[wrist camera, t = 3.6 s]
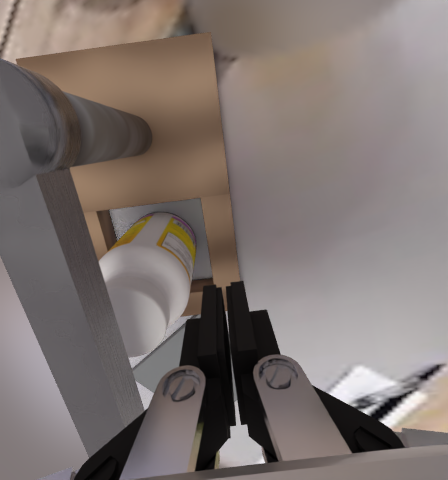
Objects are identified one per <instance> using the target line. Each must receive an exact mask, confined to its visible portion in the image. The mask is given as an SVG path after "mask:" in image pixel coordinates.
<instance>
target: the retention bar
mask: <svg viewBox="0 0 448 480" xmlns="http://www.w3.org/2000/svg"><path fill="white" fill-rule="evenodd" d="M80 146H81V128H80V124H79V120H78V117H77V114H76V112H75V110H74V108H73V106H72V104H71V102H70V101H69V99H68V98H67V96H66V95H65V94H64V93H63V92H62V91H61V89H60V88H59V87H58V86H56V85H55V84H54V83H53V82H52V81H50V80H49V79H47V78H46V77H44V76H43V75H41V74H39V73H37V72H34V71H31V70H29V69H26V68H24V67H21V66H19V65H16V64H13V63H11V62H8V61H6V60H3V59H1V58H0V256H1V259H2V261H3V263H4V265H5V268H6V270H7V272H8V274H9V277H10V279H11V281H12V284H13V286H14V288H15V290H16V293H17V295H18V297H19V299H20V302H21V304H22V306H23V308H24V311H25V313H26V315H27V318H28V320H29V322H30V324H31V327H32V329H33V331H34V333H35V335H36V338H37V340H38V343H39V345H40V347H41V349H42V352H43V354H44V356H45V358H46V361H47V363H48V365H49V367H50V370H51V372H52V374H53V377H54V379H55V381H56V383H57V386H58V388H59V390H60V393H61V395H62V397H63V399H64V401H65V404H66V406H67V408H68V411H69V413H70V415H71V417H72V420H73V422H74V424H75V427H76V429H77V431H78V433H79V435H80V438H81V440H82V442H83V445H84V447H85V449H86V452H87V454H88V456H89V458H90V457H91V456H92V455H94V454H95V453H96V452H97V451H98V450H99V449H101V448H102V447H103V446H104V445H105V444H106V443H108V442H109V441H110V440H111V439H112V438H114V437H115V436H116V435H117V434H118V433H119V432H121V431H122V430H123V429H124V428H125V427H126V426H128V425H129V424H130V423H131V422H132V421H133V420H135V419H136V418H137V417H138V416H139V415H141V414H142V413H143V412H144V407H143V404H142V401H141V398H140V394H139V391H138V388H137V385H136V381H135V378H134V375H133V372H132V368H131V365H130V362H129V359H128V356H127V352H126V349H125V346H124V343H123V339H122V336H121V333H120V330H119V326H118V323H117V320H116V317H115V313H114V310H113V307H112V304H111V301H110V297H109V294H108V291H107V288H106V284H105V281H104V278H103V275H102V271H101V268H100V265H99V262H98V258H97V255H96V252H95V249H94V246H93V242H92V239H91V236H90V233H89V229H88V226H87V223H86V220H85V216H84V213H83V210H82V207H81V203H80V200H79V197H78V194H77V191H76V187H75V184H74V181H73V178H72V174H71V171H70V168H71V167H72V165H73V164H74V162H75V161H76V159H77V157H78V154H79V151H80Z"/></svg>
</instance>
